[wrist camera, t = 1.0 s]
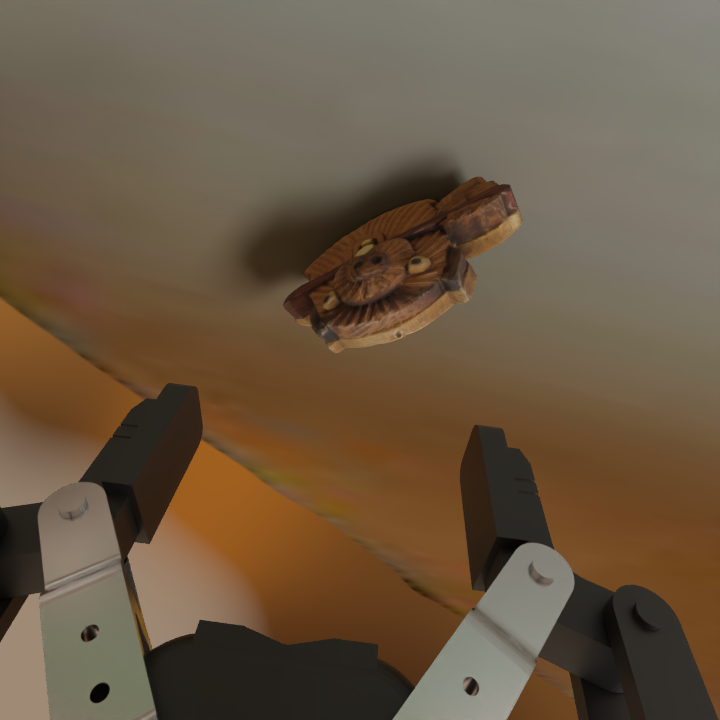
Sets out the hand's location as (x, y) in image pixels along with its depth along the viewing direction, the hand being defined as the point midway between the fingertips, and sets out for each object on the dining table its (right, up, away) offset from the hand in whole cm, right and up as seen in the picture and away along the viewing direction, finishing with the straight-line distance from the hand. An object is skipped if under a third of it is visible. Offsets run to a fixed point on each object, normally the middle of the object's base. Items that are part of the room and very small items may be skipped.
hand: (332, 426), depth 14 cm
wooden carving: (+3, +11, +20) cm, 23 cm away
